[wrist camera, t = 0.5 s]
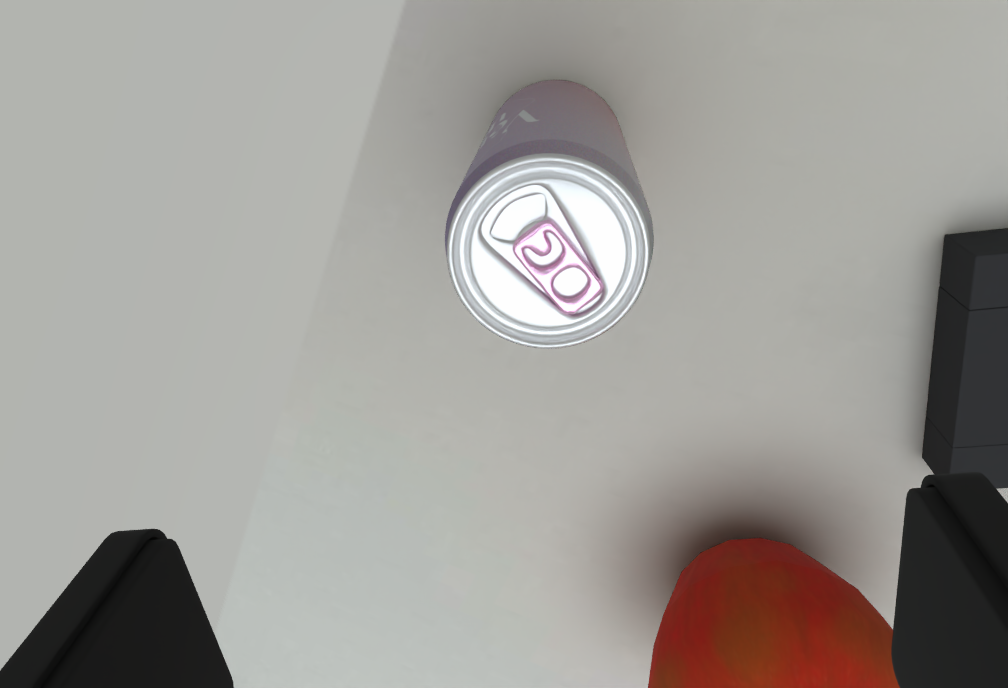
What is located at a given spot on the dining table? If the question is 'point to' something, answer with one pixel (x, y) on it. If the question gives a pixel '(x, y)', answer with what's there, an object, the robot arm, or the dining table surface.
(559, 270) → the beverage can
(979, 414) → the socket pad
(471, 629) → the dining table surface
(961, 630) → the robot arm
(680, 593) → the apple
